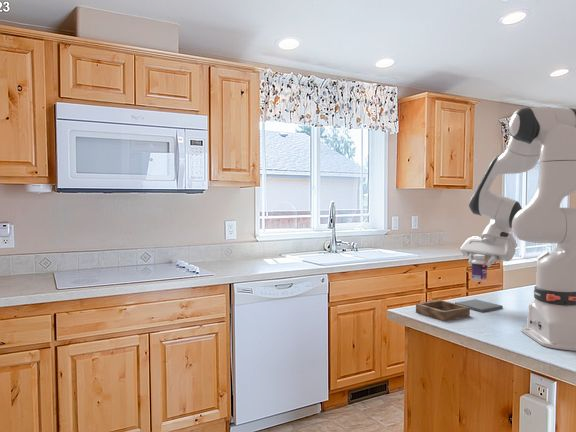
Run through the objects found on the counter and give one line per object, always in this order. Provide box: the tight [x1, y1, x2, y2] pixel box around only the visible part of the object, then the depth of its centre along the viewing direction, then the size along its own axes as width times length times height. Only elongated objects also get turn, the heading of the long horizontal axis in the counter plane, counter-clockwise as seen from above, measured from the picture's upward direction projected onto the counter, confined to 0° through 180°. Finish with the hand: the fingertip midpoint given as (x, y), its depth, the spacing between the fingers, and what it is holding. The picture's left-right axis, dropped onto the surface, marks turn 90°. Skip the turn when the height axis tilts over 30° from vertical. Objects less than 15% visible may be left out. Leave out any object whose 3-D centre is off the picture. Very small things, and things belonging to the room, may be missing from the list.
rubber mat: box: [454, 298, 503, 313], centre depth 167 cm, size 12×12×1 cm
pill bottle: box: [470, 254, 488, 282], centre depth 167 cm, size 5×5×10 cm
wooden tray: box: [415, 299, 471, 321], centre depth 157 cm, size 13×13×3 cm
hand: (478, 265), depth 166 cm, fingers closed on pill bottle, 5 cm apart
